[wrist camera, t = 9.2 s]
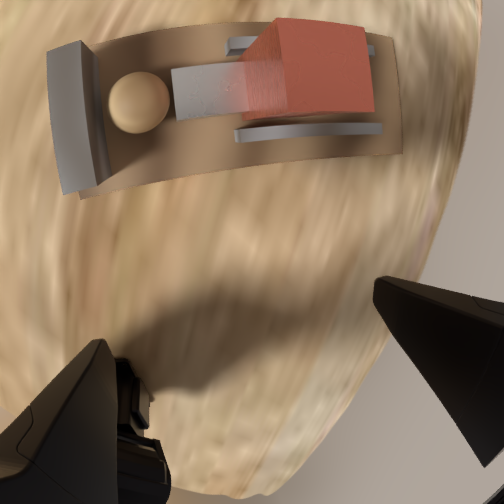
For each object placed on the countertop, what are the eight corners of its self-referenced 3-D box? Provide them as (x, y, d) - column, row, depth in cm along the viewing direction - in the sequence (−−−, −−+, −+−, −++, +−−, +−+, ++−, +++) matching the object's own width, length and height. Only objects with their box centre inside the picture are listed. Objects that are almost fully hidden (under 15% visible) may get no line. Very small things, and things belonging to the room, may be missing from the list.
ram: (177, 130, 17) (179, 124, 10) (170, 68, 15) (168, 23, 8) (302, 116, 18) (374, 112, 11) (295, 60, 17) (364, 27, 10)
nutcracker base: (85, 196, 18) (59, 215, 13) (67, 58, 14) (38, 39, 9) (393, 152, 23) (437, 160, 18) (383, 40, 19) (425, 28, 14)
